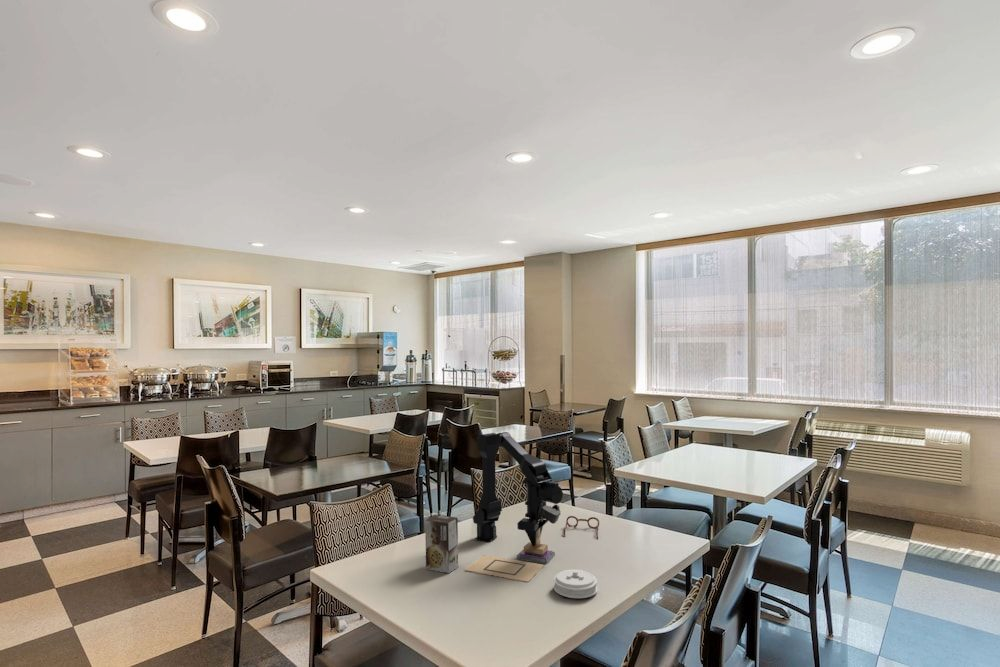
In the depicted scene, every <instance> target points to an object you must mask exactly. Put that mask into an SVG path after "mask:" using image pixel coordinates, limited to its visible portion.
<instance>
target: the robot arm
mask: <svg viewBox="0 0 1000 667" xmlns="http://www.w3.org/2000/svg"><path fill="white" fill-rule="evenodd" d="M476 444H477V451H478V453H479V454H480V456H481V459H482V460H481V466H482V467H481V468H482V472H481V476H482V478H481V479H482V483H481V484H482V496H481V498H480V500H479V502H478V505H477V506H478V507H477V508H478V509H477V512H476V513H474V515H473V516H472V521H473V524H476V537H475V538H474V540H475V541H482V542H492V541H494V539H496V538H497V537H498V535H497V526H496V522H498V521H499V519H500V516H501V513H502V511H503V508H502V500H500V499H499V497H497V492H496V490H497V489H496V483H497V482H496V457H497V455H498V452H499V451H500V446H501V447H502V448H503V449H504V450H505V451H506V452H507V453H508V454H509V456H511V458H513V459H514V461H516V463H518V465H519V467H520V472H521V473H522V474H523V475H524V477H525V478H524V479H523V480H522V484H524V485H526V501H524V505H525V506H526V513H525V515H524V517H523V518H522V519H520V520H519V521H518V522H517V523H516V524H517V525H516V526H517V530H519V531H525V533H526V535H527V537H528V539H529V542H531V544H532V545H533V546H535V545H536V539H537V531H538V530H539V529H540V537H541V536H542V532H543V529H544V528H543V527H544V526H545V525H546V524H547V523H548V522H549V523H551V524H556V523H557V522H558V520H559V517H560V516H561V510H560V505H559V503H561V502H562V499H563V496H564V492H563V489H562V488H561V486H559V484H560V483H559V482H556V481H555V482H554V481H553V479H552V477H551V474H550V473H549V470H548V469H547V465H546V464H545V461H542V459H540V458H538V457H537V456H534V455H531V454H530V453H528V451H527V450H526V449H525V448H523V447H522V445H520V444H519V443H518V442H517V441H516V440H515V438H513V437H512V435H511V433H510V432H508V431H503V432H498V433H496V432H491V433H485V434H480V435H479V436H478V437H477V439H476ZM547 502H548V503H552V504H553V506H551V505H547Z"/></svg>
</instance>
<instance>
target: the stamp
mask: <svg viewBox="0 0 1000 667" xmlns="http://www.w3.org/2000/svg"><path fill="white" fill-rule="evenodd" d="M523 549H524V553H526V554H532V555H539V556H543V555H544V554H545V553H546V552H547V550H548V549H549V545H548V544H544V543H543V544H542V543H541V536H540V529H539V530H538V531H537V539H536V545H535V546H533V545H532V544H531V542H530V541H529V542H527V543H526V544H525V545H524V546H523ZM548 551H549V550H548Z"/></svg>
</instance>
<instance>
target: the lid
mask: <svg viewBox="0 0 1000 667" xmlns="http://www.w3.org/2000/svg"><path fill="white" fill-rule="evenodd" d="M553 581H554V585H553V589H554V591H555V592H556V593H557V594H558V595H561V596H563V597H566V598H570V599H586V598H590V597H593V596H595V595H596V594H597V592H598V587H597V584H598V579H597V578H596V577H595V576H594V575H593V574H592V573H591V572H589V571H586V570H584V569H583V570H582V569H566V570H565V569H564V570H562V571H559V572H558V573H556V574H555V576H553Z"/></svg>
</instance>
